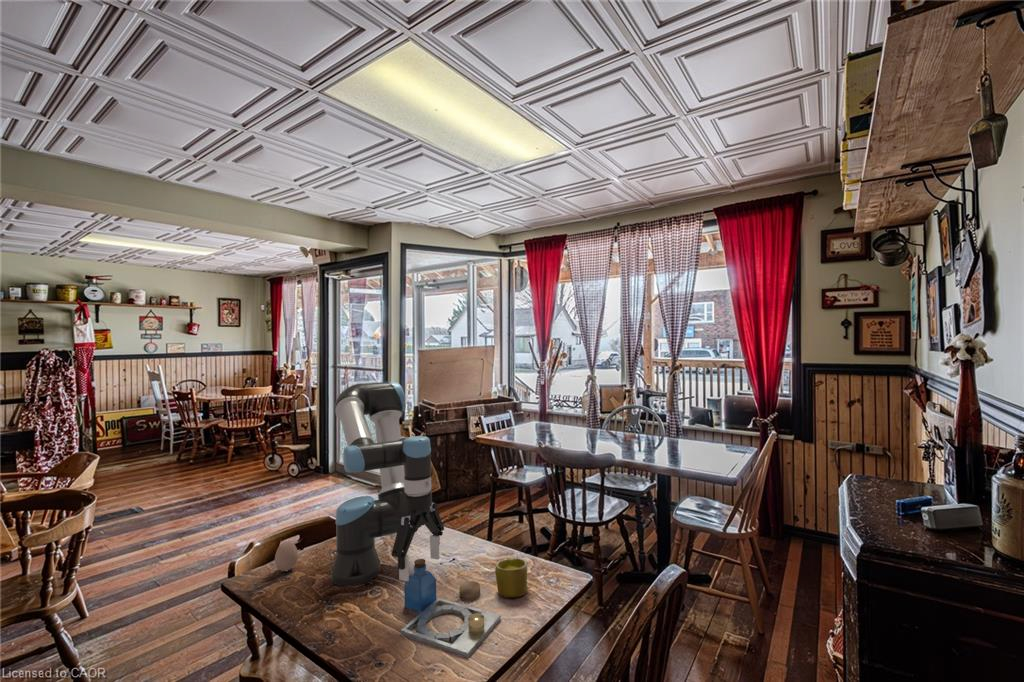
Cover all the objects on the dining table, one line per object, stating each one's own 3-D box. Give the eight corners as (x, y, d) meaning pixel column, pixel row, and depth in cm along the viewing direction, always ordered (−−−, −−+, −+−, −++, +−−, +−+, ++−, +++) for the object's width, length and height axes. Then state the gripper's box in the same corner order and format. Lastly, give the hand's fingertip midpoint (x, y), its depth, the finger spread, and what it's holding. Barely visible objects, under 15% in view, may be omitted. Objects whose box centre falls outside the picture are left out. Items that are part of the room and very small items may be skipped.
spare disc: (455, 597, 128) (455, 589, 128) (466, 587, 133) (466, 579, 133) (473, 602, 125) (472, 593, 125) (483, 592, 130) (483, 583, 130)
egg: (293, 563, 151) (293, 535, 151) (301, 570, 146) (300, 540, 146) (272, 571, 146) (271, 541, 146) (279, 578, 141) (278, 547, 141)
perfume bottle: (421, 613, 120) (420, 568, 121) (404, 606, 124) (403, 563, 124) (436, 601, 126) (435, 559, 126) (420, 596, 129) (419, 554, 129)
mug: (529, 597, 123) (519, 559, 126) (496, 606, 125) (486, 568, 128) (539, 583, 135) (529, 549, 137) (508, 591, 137) (499, 557, 139)
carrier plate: (400, 635, 111) (400, 618, 111) (438, 601, 126) (438, 586, 126) (467, 658, 102) (467, 639, 102) (500, 619, 116) (500, 603, 117)
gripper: (398, 508, 112) (400, 593, 112) (454, 481, 135) (456, 552, 134) (376, 504, 116) (378, 587, 115) (434, 479, 138) (436, 548, 137)
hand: (420, 568), depth 124 cm, fingers open, 13 cm apart
